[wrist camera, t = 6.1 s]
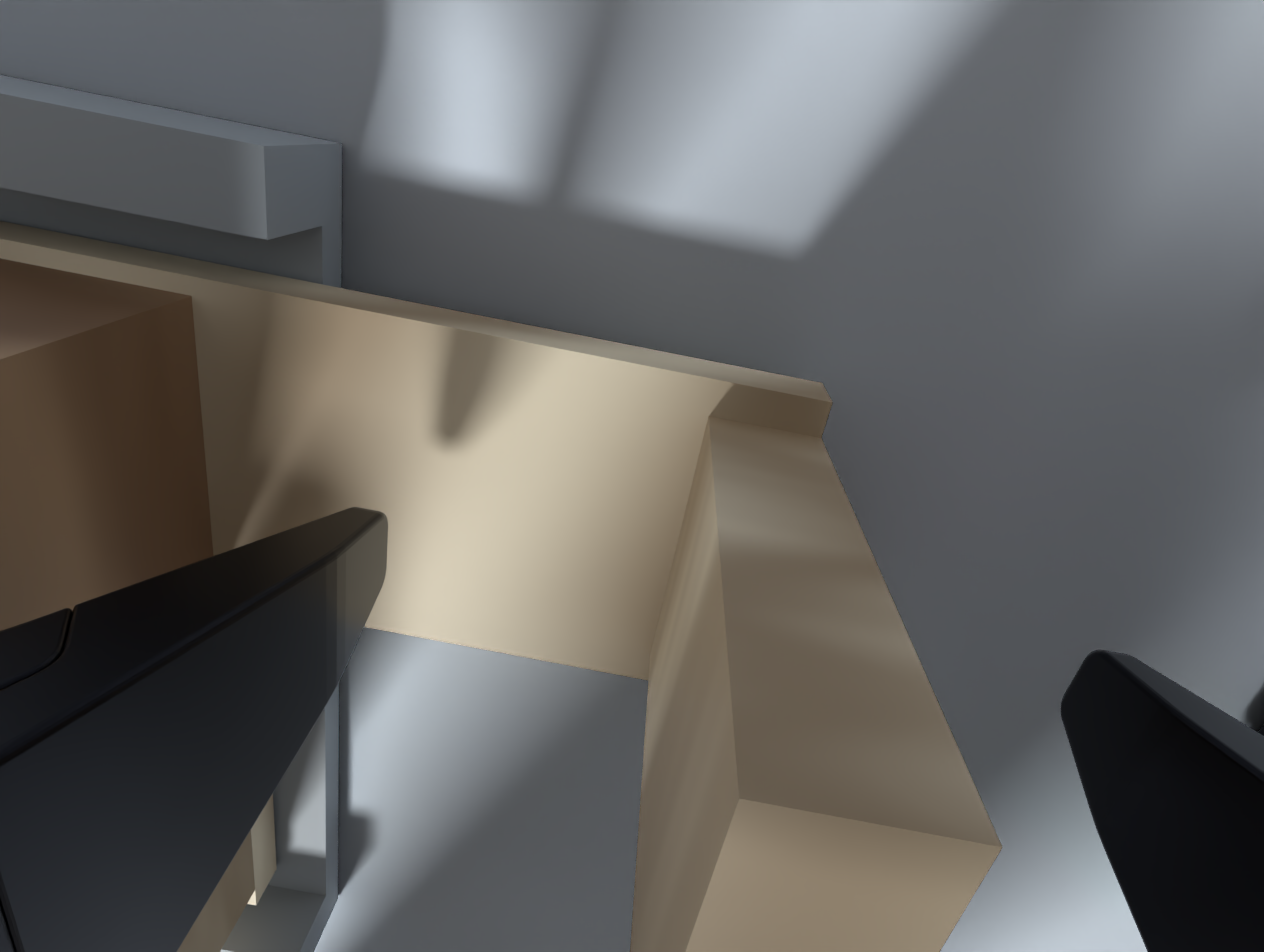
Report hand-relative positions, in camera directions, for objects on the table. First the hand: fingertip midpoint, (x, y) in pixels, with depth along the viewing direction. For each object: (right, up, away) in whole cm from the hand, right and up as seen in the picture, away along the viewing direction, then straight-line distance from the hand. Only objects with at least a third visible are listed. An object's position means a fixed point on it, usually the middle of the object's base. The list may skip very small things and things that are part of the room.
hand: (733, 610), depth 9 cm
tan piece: (-5, +2, +2) cm, 6 cm away
